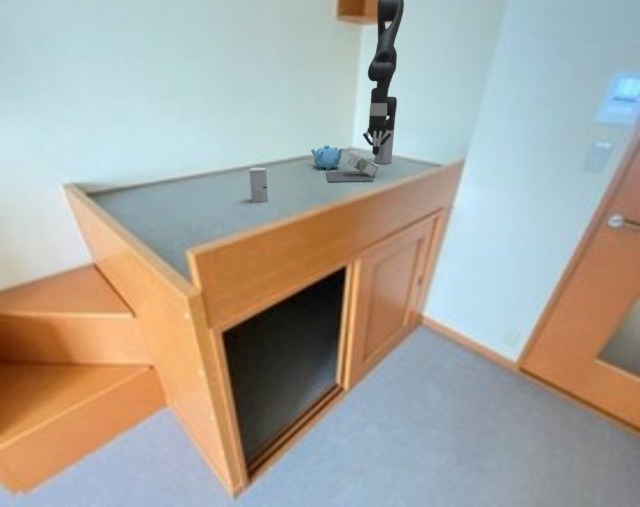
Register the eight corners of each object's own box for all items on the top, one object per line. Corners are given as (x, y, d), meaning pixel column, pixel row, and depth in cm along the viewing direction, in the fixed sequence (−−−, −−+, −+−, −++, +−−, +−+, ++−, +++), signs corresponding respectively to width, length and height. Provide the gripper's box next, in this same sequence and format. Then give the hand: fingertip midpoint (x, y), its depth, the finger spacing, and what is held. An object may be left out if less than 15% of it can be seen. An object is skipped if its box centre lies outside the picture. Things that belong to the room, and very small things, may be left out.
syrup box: (377, 164, 166) (351, 149, 163) (378, 167, 160) (351, 151, 158) (371, 174, 168) (345, 159, 166) (372, 178, 163) (345, 162, 161)
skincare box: (252, 202, 132) (249, 170, 126) (251, 199, 135) (248, 167, 130) (268, 201, 133) (266, 169, 127) (267, 197, 137) (265, 166, 131)
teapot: (339, 164, 189) (339, 142, 184) (343, 170, 177) (344, 147, 172) (311, 165, 188) (310, 143, 183) (313, 171, 176) (313, 148, 171)
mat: (325, 172, 173) (325, 171, 172) (366, 172, 173) (366, 171, 173) (328, 182, 156) (328, 181, 156) (372, 181, 157) (372, 180, 157)
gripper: (391, 113, 157) (387, 153, 164) (361, 113, 156) (359, 153, 164) (395, 114, 150) (391, 156, 158) (364, 115, 149) (362, 156, 157)
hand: (375, 154), depth 161 cm, fingers closed
